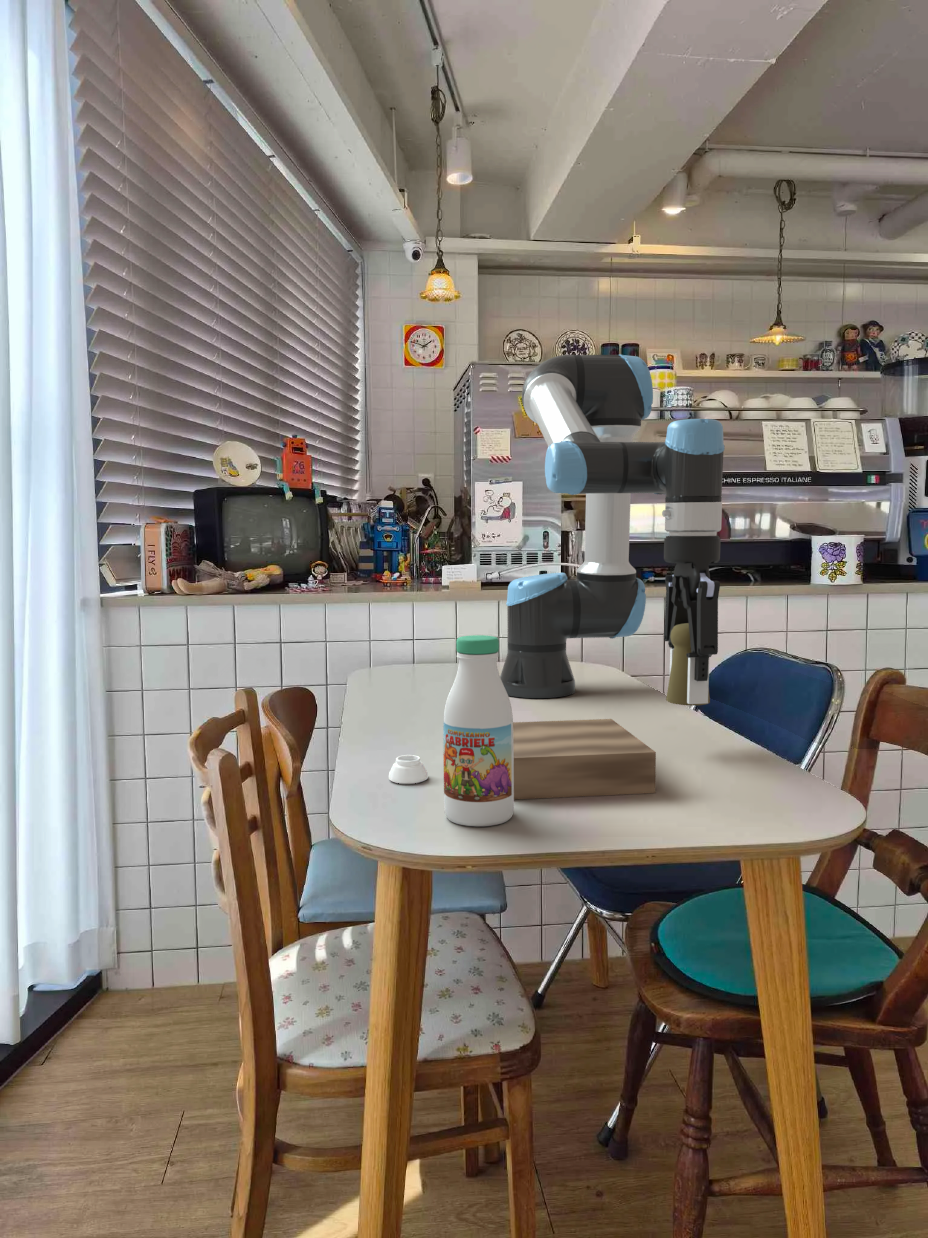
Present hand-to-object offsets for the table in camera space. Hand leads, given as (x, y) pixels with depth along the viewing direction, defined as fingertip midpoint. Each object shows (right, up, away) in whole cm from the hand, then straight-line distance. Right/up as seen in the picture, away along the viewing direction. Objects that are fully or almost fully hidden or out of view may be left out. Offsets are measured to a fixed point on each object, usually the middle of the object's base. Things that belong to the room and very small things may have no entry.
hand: (687, 697), depth 115 cm
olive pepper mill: (0, -1, 0) cm, 1 cm away
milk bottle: (-30, -11, -25) cm, 41 cm away
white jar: (-39, -10, -11) cm, 42 cm away
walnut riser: (-19, -9, -10) cm, 23 cm away
